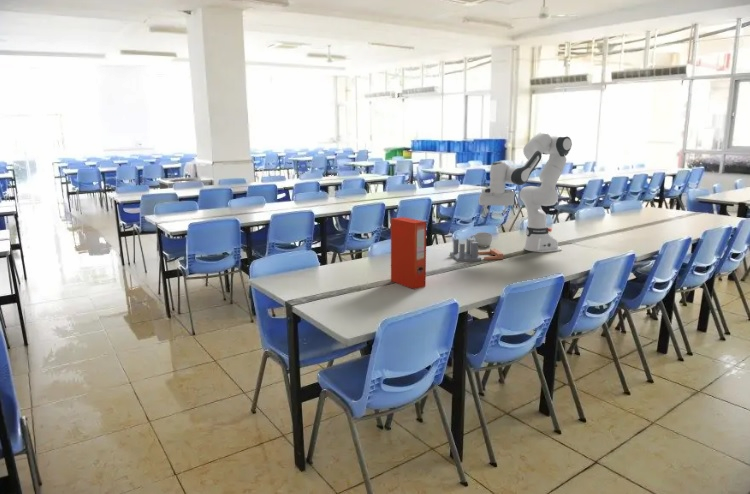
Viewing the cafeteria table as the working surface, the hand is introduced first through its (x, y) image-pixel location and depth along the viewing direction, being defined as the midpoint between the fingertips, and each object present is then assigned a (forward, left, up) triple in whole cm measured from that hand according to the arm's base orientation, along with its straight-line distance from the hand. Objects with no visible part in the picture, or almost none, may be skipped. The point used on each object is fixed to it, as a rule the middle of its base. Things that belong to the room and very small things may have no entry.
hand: (495, 213), depth 308 cm
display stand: (+18, +2, -26) cm, 32 cm away
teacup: (-1, -27, -26) cm, 37 cm away
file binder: (+61, +49, -26) cm, 83 cm away
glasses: (+3, +2, -26) cm, 26 cm away
